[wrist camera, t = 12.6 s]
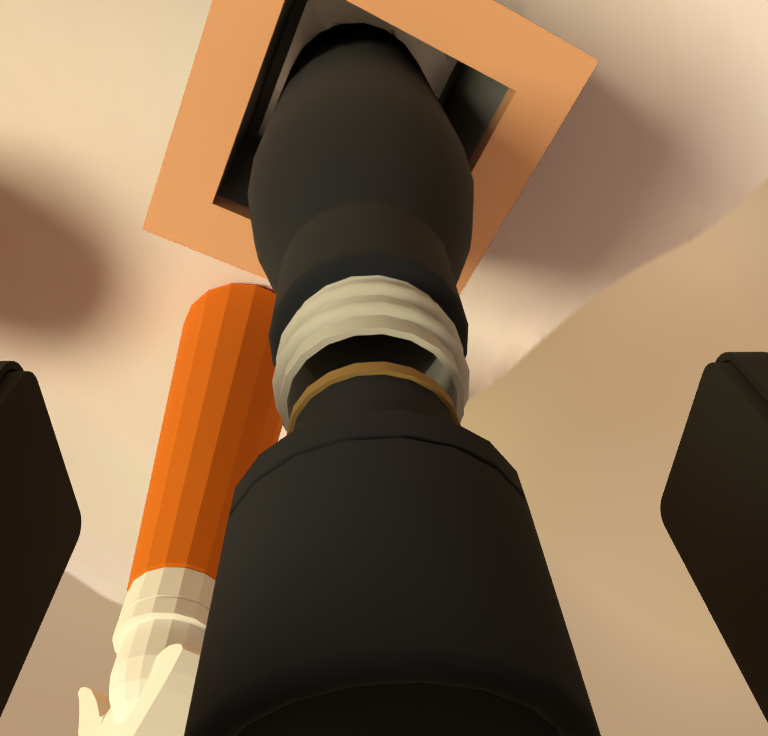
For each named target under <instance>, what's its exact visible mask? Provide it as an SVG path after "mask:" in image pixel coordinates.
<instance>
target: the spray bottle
mask: <svg viewBox="0 0 768 736" xmlns="http://www.w3.org/2000/svg"><path fill="white" fill-rule="evenodd" d="M275 299H276V293H274V292H272V291H269V290H267V289H265V288H262V287H260V286H258V285H250V284H235V283H231V284H228V285H225V286H222V287H219V288H215V289H212V290H209V291H207V292H206V293H205V294H204V295H203V296H202V297H200V298H199V299H198V300H197V301H196V302H195V303H194V304H192V306H191V308H190V310H189V313H188V315H187V317H186V320H185V322H184V325H183V330H182V334H181V339H180V344H179V349H178V353H177V358H176V363H175V367H174V372H173V377H172V381H171V386H170V391H169V396H168V400H167V405H166V410H165V414H164V419H163V424H162V428H161V433H160V438H159V443H158V447H157V452H156V457H155V461H154V466H153V471H152V475H151V480H150V485H149V489H148V494H147V499H146V504H145V508H144V513H143V518H142V522H141V527H140V532H139V536H138V541H137V546H136V551H135V555H134V560H133V565H132V569H131V574H130V579H129V583H128V588H127V591H128V593H127V596H126V599H125V602H124V605H123V608H122V611H121V614H120V617H119V620H118V624H117V627H116V629H115V632H114V636H113V638H112V640H113V645H114V650H115V652H116V653H117V658H116V660H115V664H114V667H113V670H112V673H111V676H110V688H109V689H110V690H109V696H107V695H105V694H103V693H101V692H98V691H95V690H93V689H90V688H87V687H81V689H80V690H79V692H78V696H79V704H80V717H79V733H78V736H184V732H185V727H186V722H187V717H188V712H189V707H190V703H191V698H192V693H193V688H194V683H195V678H196V673H197V668H198V663H199V658H200V653H201V649H202V644H203V639H204V634H205V629H206V624H207V619H208V614H209V609H210V604H211V600H212V595H213V590H214V585H215V580H216V575H217V570H218V565H219V560H220V555H221V551H222V546H223V541H224V536H225V531H226V526H227V521H228V517H229V512H230V508H231V504H232V499H233V495H234V490H235V487H236V485H237V484H238V483H239V481H240V480H241V479H242V477H243V476H244V475H245V473H246V472H247V470H248V469H249V468H250V466H251V465H252V464H253V462H254V461H255V460H256V458H257V457H258V455H259V454H260V453H262V452H263V451H265V450H266V449H268V448H269V447H271V446H272V445H274V444H275V443H277V442H278V439H279V435H280V432H281V428H282V425H283V423H282V418H281V416H280V415H279V413H278V411H277V409H276V405H275V398H274V392H273V385H272V380H273V375H274V371H275V367H274V365H273V363H272V356H271V349H270V342H269V336H268V334H269V329H270V324H271V319H272V314H273V309H274V304H275Z"/></svg>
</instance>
